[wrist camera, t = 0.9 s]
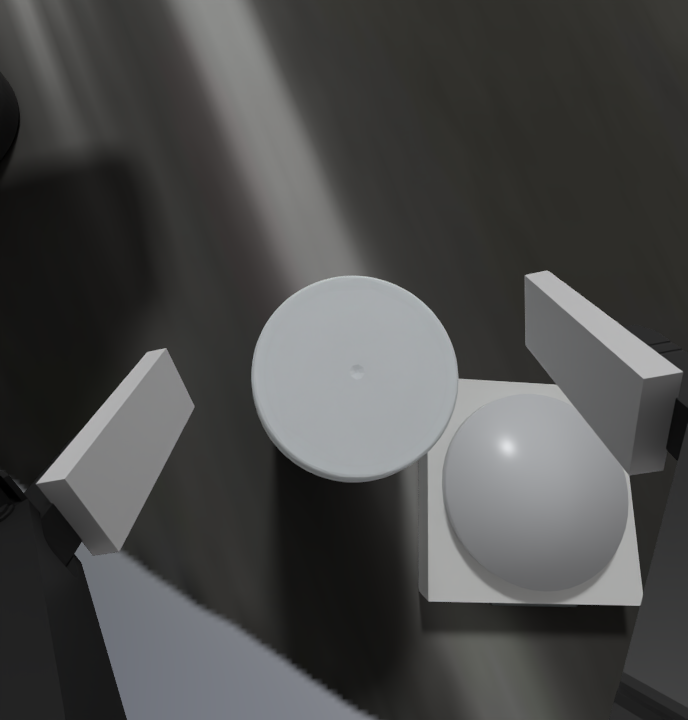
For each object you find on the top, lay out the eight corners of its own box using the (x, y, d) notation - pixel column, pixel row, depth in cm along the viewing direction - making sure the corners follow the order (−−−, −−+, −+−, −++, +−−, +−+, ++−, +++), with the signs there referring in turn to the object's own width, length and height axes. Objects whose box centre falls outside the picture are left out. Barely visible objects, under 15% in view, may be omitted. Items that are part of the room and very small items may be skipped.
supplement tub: (336, 326, 34) (358, 229, 20) (422, 409, 33) (508, 369, 19) (246, 410, 32) (199, 368, 18) (334, 502, 31) (360, 535, 17)
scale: (418, 383, 34) (431, 374, 30) (597, 393, 35) (628, 386, 32) (418, 595, 30) (432, 611, 27) (618, 599, 31) (656, 615, 28)
